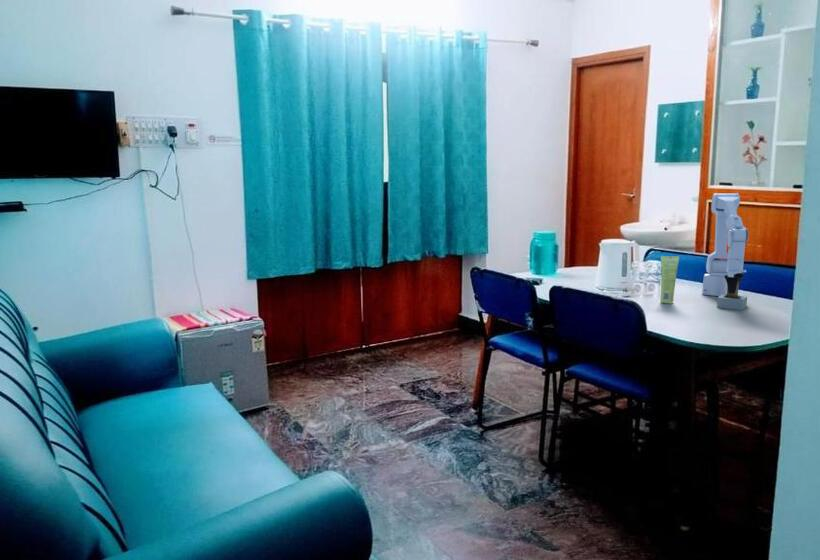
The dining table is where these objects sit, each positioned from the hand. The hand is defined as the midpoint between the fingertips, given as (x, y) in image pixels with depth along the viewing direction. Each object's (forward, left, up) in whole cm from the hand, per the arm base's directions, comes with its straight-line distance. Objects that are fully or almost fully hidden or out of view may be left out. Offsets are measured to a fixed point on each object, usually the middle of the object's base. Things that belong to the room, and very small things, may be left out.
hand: (732, 292), depth 253 cm
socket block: (0, 0, -6) cm, 6 cm away
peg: (0, 0, -3) cm, 3 cm away
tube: (-23, -7, -6) cm, 25 cm away
